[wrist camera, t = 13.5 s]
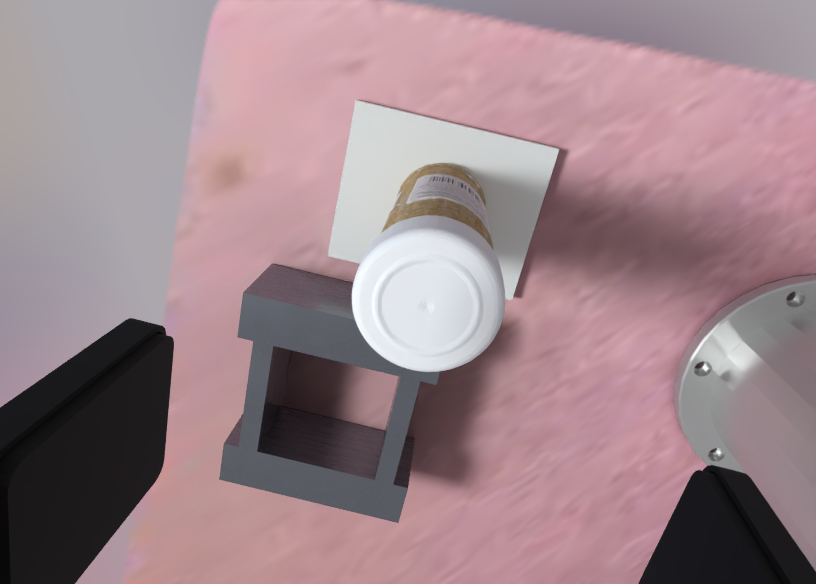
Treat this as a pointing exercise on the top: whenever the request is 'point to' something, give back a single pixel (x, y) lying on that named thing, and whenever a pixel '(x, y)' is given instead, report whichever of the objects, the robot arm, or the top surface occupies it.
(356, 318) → the sprinkles bottle
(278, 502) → the top surface
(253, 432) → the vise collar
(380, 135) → the rubber pad
